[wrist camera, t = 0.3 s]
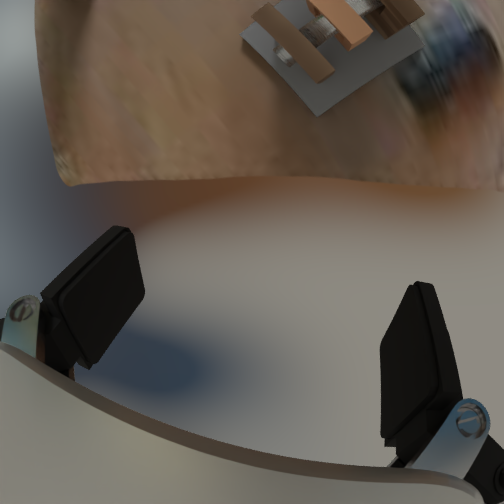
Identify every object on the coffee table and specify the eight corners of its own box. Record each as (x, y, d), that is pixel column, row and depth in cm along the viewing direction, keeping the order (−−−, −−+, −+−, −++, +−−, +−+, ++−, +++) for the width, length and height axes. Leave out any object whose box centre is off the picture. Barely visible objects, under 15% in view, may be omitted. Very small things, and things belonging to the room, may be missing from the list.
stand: (351, -18, 21) (358, -54, 12) (397, 32, 23) (425, 13, 14) (274, 35, 27) (250, 16, 18) (320, 83, 30) (316, 83, 20)
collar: (326, -1, 21) (325, -18, 16) (365, 40, 23) (373, 31, 18) (309, 10, 22) (304, -5, 17) (348, 51, 24) (352, 44, 19)
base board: (345, -36, 20) (345, -40, 19) (421, 47, 24) (425, 45, 23) (242, 36, 29) (239, 34, 28) (317, 116, 33) (316, 117, 32)
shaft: (415, -41, 14) (430, -60, 9) (441, -14, 15) (460, -28, 10) (272, 47, 25) (259, 39, 20) (298, 74, 26) (291, 72, 21)
